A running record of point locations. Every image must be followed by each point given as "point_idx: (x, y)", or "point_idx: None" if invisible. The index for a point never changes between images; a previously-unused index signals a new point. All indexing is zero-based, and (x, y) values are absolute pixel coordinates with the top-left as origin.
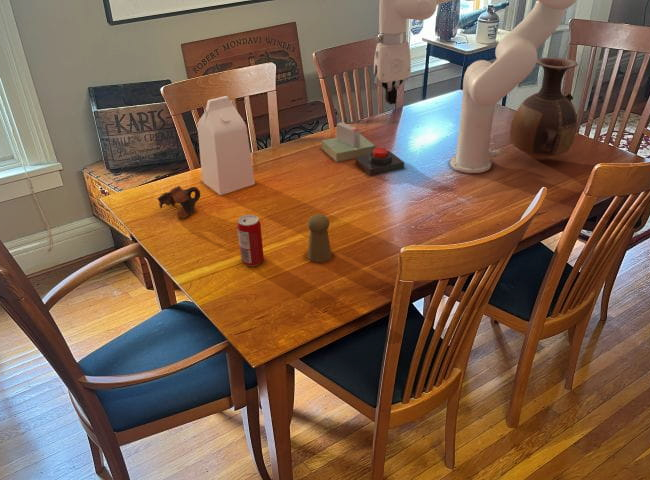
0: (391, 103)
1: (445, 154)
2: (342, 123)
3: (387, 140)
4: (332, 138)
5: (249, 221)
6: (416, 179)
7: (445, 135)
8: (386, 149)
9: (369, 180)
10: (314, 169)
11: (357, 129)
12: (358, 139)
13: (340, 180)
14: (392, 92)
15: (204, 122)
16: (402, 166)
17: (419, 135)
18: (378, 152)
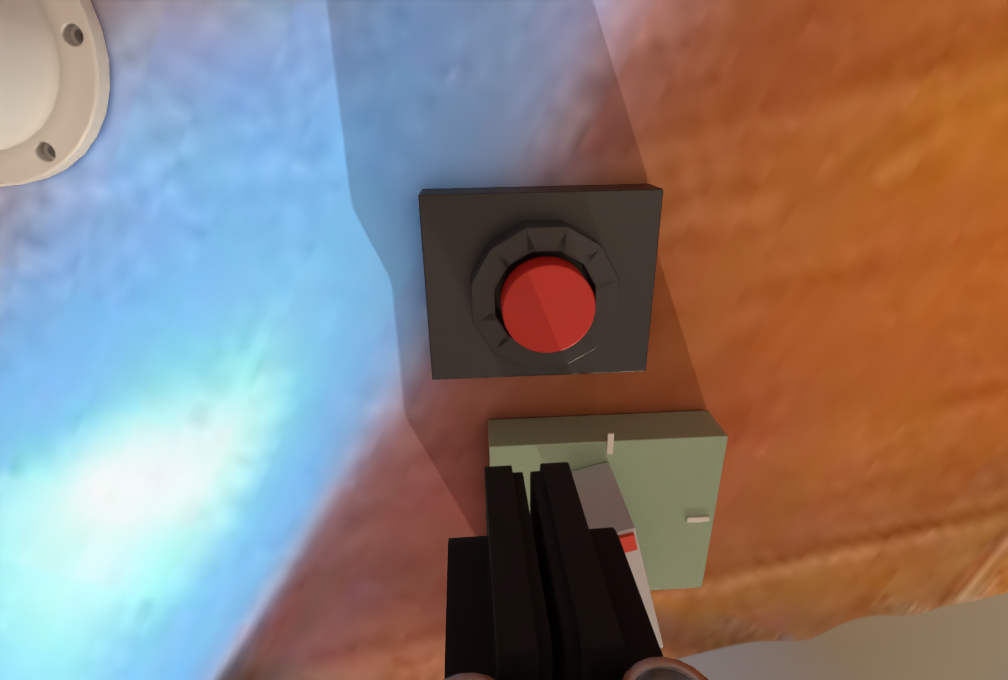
0: (565, 466)
1: (95, 267)
2: None
3: (355, 532)
4: None
5: None
6: (415, 6)
7: (20, 485)
8: (504, 308)
9: (681, 133)
10: (843, 379)
11: None
12: (588, 494)
13: (816, 207)
14: (589, 621)
15: None
16: (432, 191)
17: (169, 529)
18: (576, 287)
